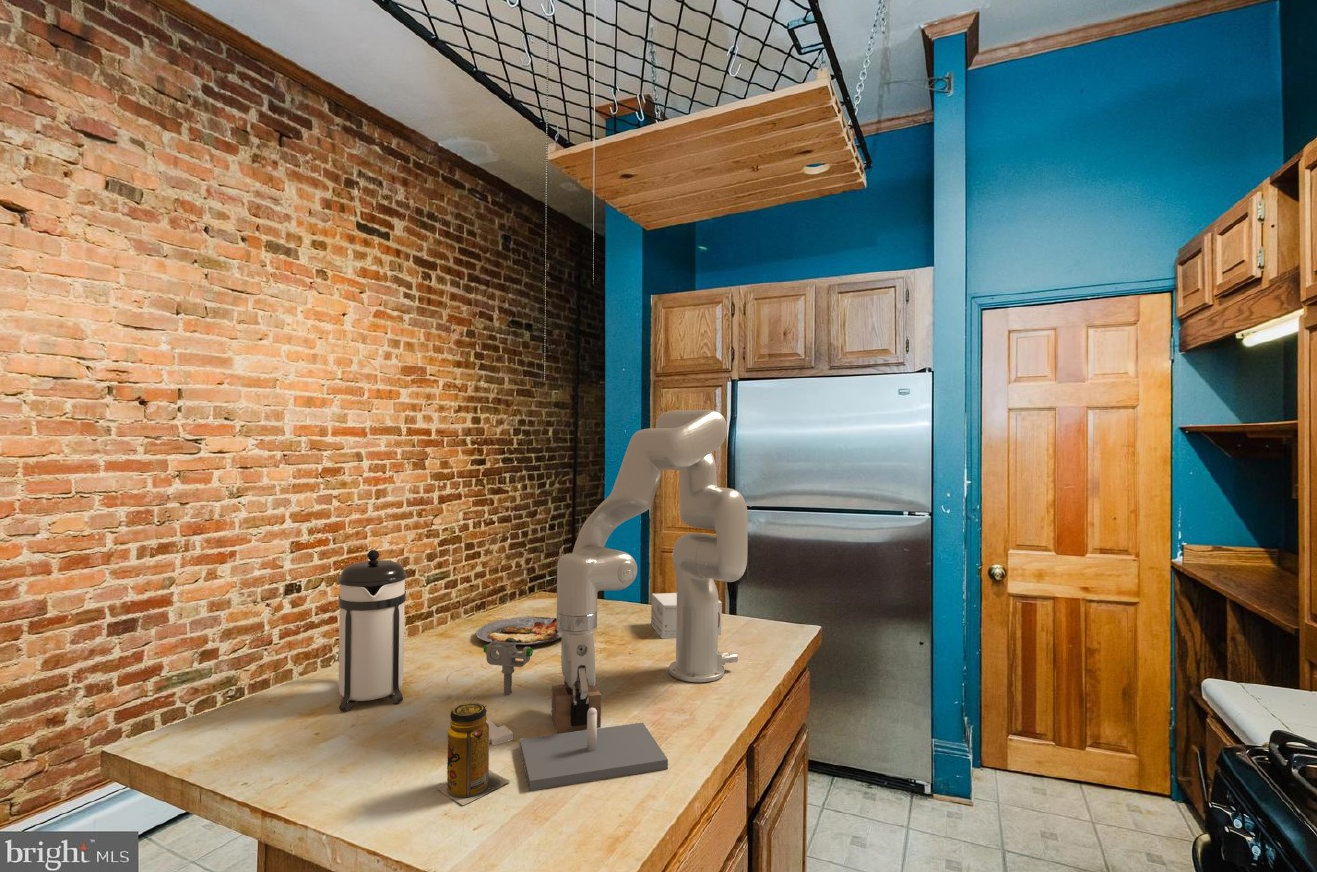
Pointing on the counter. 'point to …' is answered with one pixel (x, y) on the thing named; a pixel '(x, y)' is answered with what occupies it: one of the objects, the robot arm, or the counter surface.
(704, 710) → the counter surface
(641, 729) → the pin board
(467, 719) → the condiment
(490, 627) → the food plate
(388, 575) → the coffee press
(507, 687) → the mechanical component
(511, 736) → the corner connector
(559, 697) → the hollow block
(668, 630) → the supplement box
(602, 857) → the counter surface
